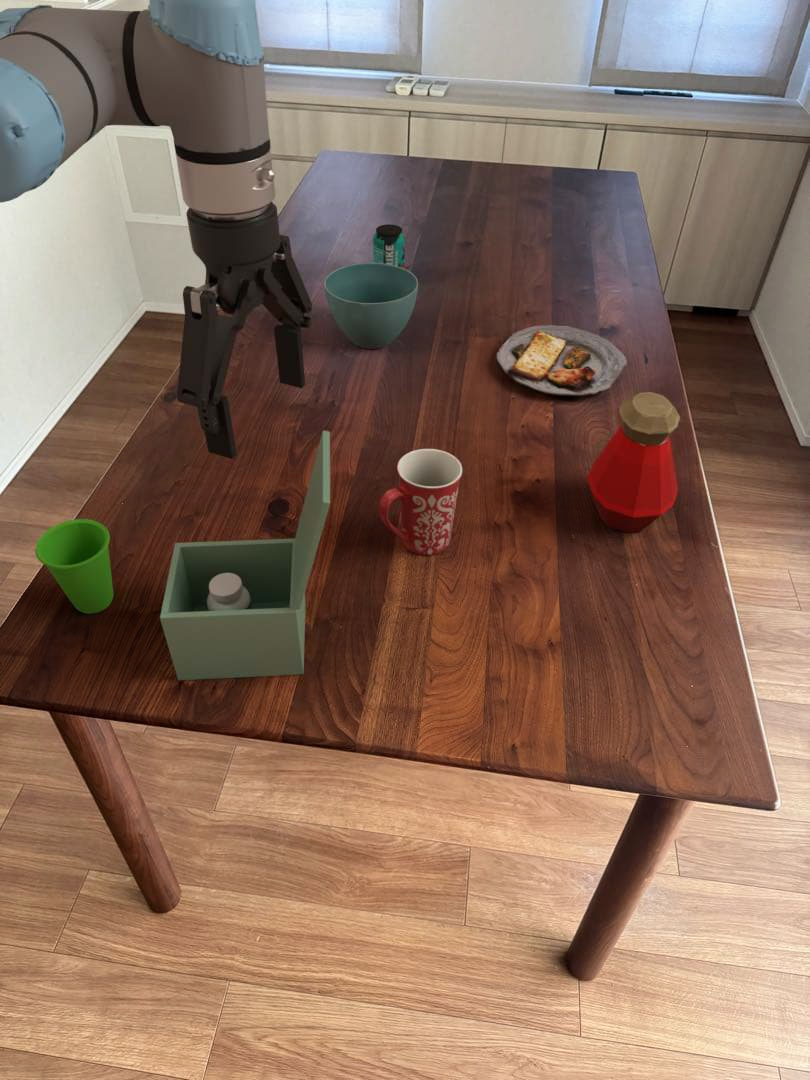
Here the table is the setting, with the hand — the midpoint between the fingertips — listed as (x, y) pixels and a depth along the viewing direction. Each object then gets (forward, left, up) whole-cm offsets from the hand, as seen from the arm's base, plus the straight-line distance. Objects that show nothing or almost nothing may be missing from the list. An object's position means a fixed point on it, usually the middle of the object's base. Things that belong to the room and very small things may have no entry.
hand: (259, 417), depth 81 cm
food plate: (+50, +65, -35) cm, 89 cm away
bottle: (+51, +22, -35) cm, 66 cm away
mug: (+18, +17, -35) cm, 43 cm away
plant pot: (+14, +78, -35) cm, 87 cm away
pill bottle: (-7, 0, -34) cm, 35 cm away
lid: (+4, 0, -14) cm, 15 cm away
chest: (-6, 0, -35) cm, 35 cm away
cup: (-27, +8, -35) cm, 45 cm away
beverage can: (+19, +104, -35) cm, 111 cm away
